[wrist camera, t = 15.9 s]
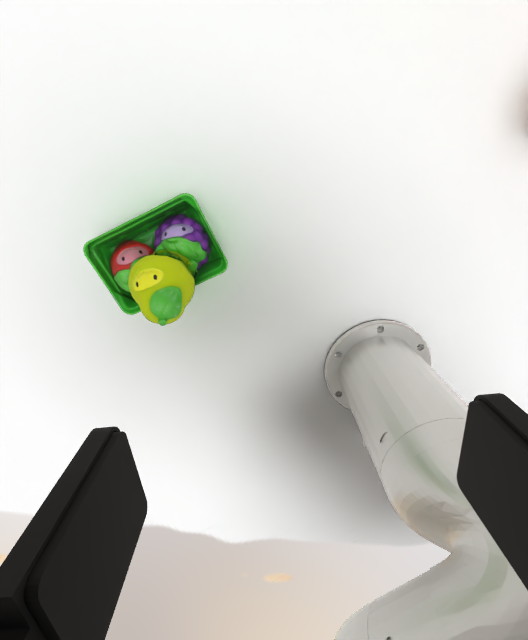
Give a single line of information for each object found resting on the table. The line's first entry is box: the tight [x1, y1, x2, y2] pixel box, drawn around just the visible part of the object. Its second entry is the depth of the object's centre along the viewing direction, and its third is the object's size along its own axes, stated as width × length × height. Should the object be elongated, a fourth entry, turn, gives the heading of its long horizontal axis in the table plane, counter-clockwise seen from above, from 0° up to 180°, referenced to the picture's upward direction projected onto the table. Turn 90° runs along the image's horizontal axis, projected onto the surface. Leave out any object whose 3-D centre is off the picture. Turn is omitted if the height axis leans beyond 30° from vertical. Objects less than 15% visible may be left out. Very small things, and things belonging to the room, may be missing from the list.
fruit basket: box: [83, 193, 228, 326], centre depth 30 cm, size 11×9×11 cm
